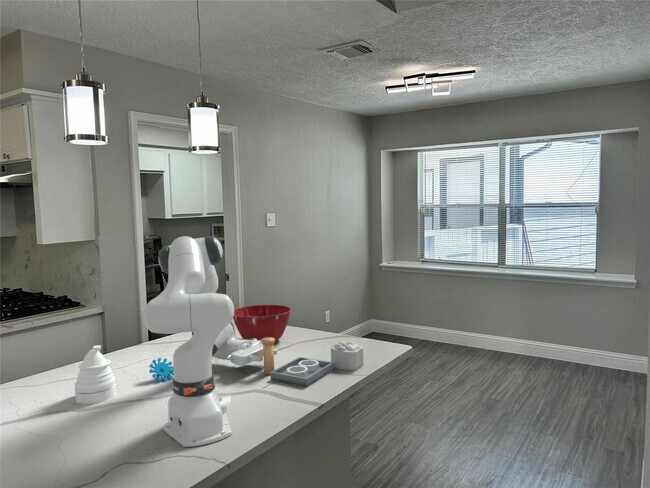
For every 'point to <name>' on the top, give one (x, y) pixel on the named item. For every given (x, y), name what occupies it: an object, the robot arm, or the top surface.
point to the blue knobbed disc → (161, 369)
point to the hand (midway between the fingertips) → (269, 355)
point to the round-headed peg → (268, 354)
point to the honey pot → (94, 379)
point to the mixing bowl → (261, 321)
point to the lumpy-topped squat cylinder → (347, 356)
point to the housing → (302, 371)
